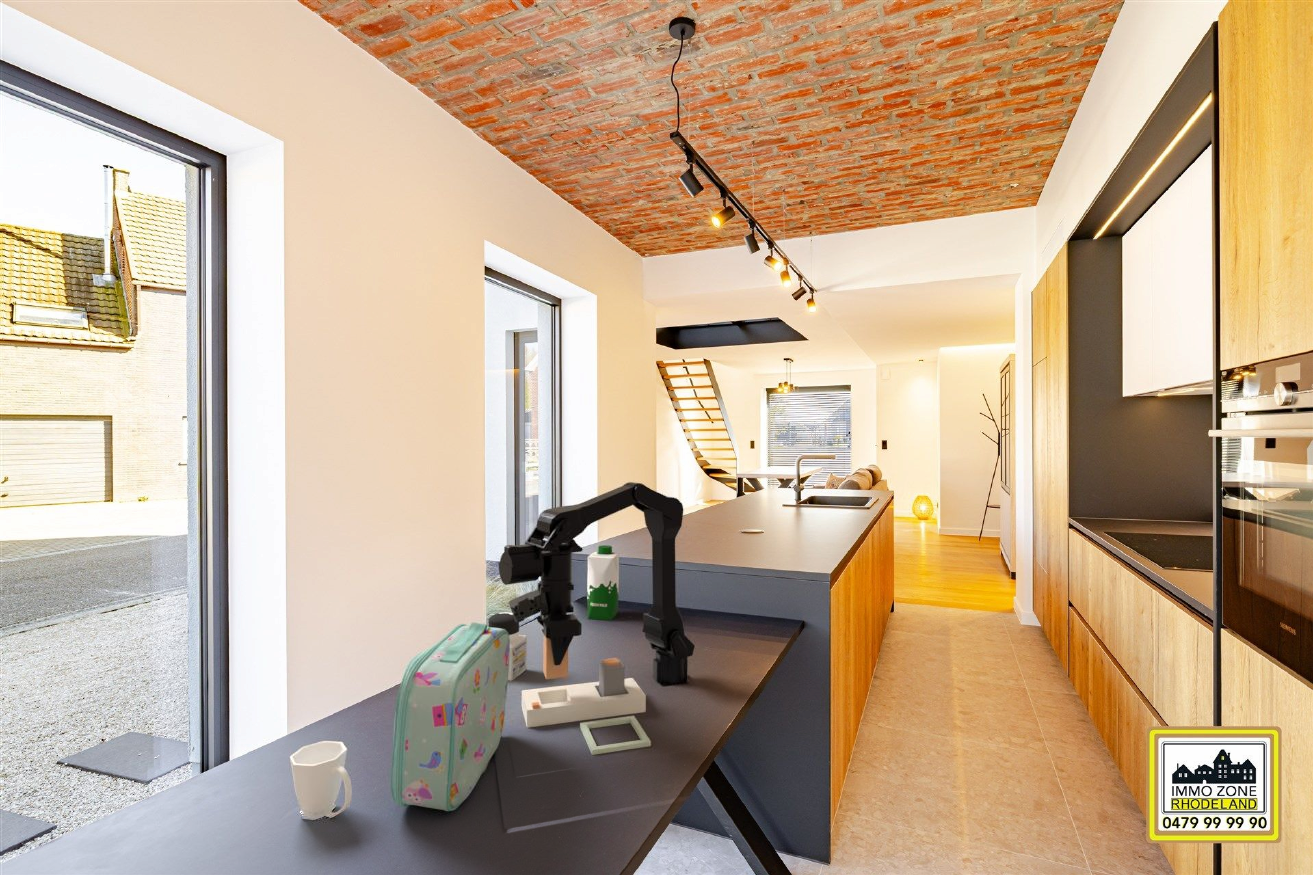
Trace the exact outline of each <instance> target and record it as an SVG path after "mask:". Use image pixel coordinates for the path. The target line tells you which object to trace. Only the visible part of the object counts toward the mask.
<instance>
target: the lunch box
mask: <svg viewBox="0 0 1313 875" xmlns="http://www.w3.org/2000/svg"><path fill="white" fill-rule="evenodd" d="M470 623H471V624H469V625H467V624H465V623H460V624H458V625H457V626H455V627H454V628H452V630H450V631H449V632H448V633H447V634H446V635H445V636H444V637H443V638H441V639H440V640H439V641H438V642H437V643H434V645H433V646H431V647H430V648H428V649H425V650H424V651H423V652H420V653H419V654H417V655H415V656H414V657H413V658H411V660H410V661H409V662H408V664H407V667H406V669H405V671H404V673H403V676H402V679H401V682H400V685H399V689H398V691H397V696H396V702H395V713H394V717H393V718H394V720H393V739H392V740H393V741H392V754H391V755H392V756H391V766H390V767H391V768H390V790H391V797H392V800H393V801H394V803H396V804H397V806H398V807H399V808H402V807H403V808H404V807H406V806H409V805H410V806H417V807H422V808H428V809H429V808H430V809H436V810H442V811H446V812H452V811H455V810H456V809H458V808H459V806H461V804H463V802H464V801H465V800H466V799H467V798H468V797H469V796H470V794H471V793H472V791H473V790H474V788H475V786H476V785H477V783H478V781H479V780H480V777H481V776H482V774H484V773H485V772H486V769H487V768H488V765H489V762H490V760H491V758H492V757H493V755H494V754H495V752H496V751H497V749H498V748H499V745H500V741H501V737H502V733H503V730H504V724H505V717H506V699H507V693H508V692H507V691H508V682H509V680H508V670H509V652H510V639H509V634H508V632H507V631H506V630H505V629H500V628H492V627H488V623H483V622H470Z"/></svg>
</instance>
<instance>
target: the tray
mask: <svg viewBox="0 0 1313 875" xmlns="http://www.w3.org/2000/svg"><path fill="white" fill-rule="evenodd" d="M625 724H631V727H632V728H633V730H634V731H635V733H636V735H637V736H638V737H639V740H632V741H631V740H630V741H625V742H619V743H610V744H603V745H598V746H597V744H596V741H595V739H594V737H593V735H592V733H591V731H590V729H595V728H596V729H597V728H603V727H610V726H611V727H612V726H618V725H625ZM579 728H580V730H581V731H580V732H581V733H582V735H583V737H584V739H585V742H586V744H587V746H588V749H589V751H590V754H591V755H592V756H595V755H599V754H606V753H612V752H613V753H614V752H620V751H621V752H622V751H626V750H633V749H641V748H647V747H651V745H652V741H651V739H650V737H648V735H647V733H646V731H645V730H644V728H643V727H642V725H641V724H640V723H639V721H638V720H637V718H636V717H635V715H630V716H629V715H628V716H621V717H615V718H607V719H600V720H599V719H598V720H590V721H584V722H579Z"/></svg>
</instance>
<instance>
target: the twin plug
mask: <svg viewBox="0 0 1313 875" xmlns="http://www.w3.org/2000/svg"><path fill="white" fill-rule="evenodd" d="M603 659H604V660H599V661H598V662H599V664H598V665H599V668H598V671H599V673H598V682H599V695H600V696H601V697H606V696H614V695H622V694H624V682H625V679H626V678H625V676H626V675H625V674H626V671H625V668H626V666H625V665H624V663H623V662H622V661H621V659H620V658H617V657H611V658H603Z"/></svg>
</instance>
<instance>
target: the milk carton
mask: <svg viewBox="0 0 1313 875" xmlns="http://www.w3.org/2000/svg"><path fill="white" fill-rule="evenodd" d="M619 558H620V552H613V546H612V545H606V544H605V545H599V546H598V548H597V551H594V552H592V553H591V554H589V555H588V556H587V578H586V579H587V584H586V587H587V590H586V592H587V593H586V594H587V595H586V600H587V602H586V603H587V620H602V621H603V620H604V621H612V620H614V618H615V617H616V615H617V613H618V608H619V607H618V606H619V597H620V596H619V587H620V586H619V585H620V584H619V582H620V578H619V577H620V559H619Z"/></svg>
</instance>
